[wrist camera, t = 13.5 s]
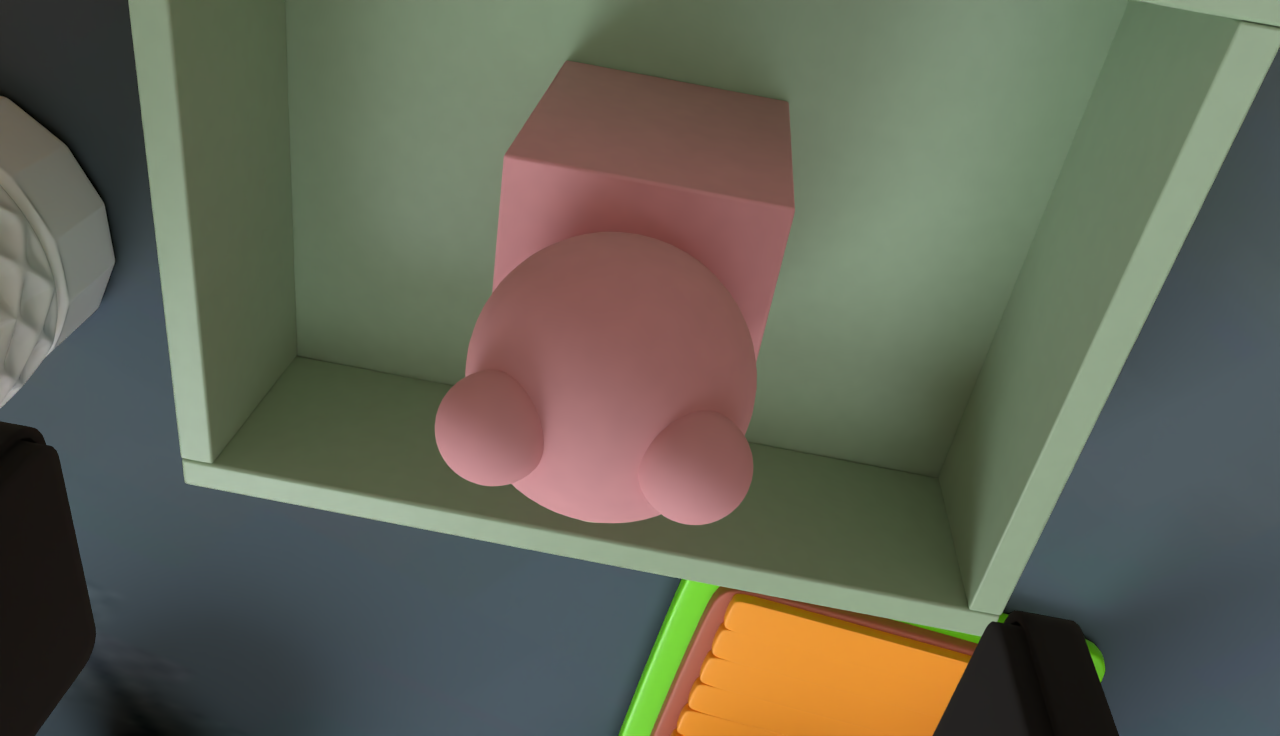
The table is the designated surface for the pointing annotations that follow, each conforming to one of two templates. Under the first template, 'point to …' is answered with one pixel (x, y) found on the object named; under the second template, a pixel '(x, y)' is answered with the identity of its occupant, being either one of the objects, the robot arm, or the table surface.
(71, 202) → the white cup
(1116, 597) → the table surface
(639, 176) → the toy bear
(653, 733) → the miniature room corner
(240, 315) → the tub
